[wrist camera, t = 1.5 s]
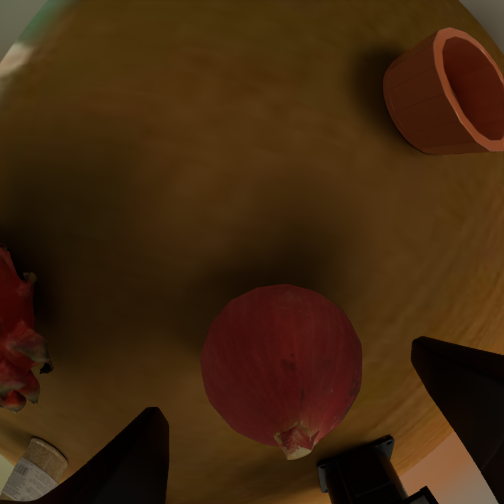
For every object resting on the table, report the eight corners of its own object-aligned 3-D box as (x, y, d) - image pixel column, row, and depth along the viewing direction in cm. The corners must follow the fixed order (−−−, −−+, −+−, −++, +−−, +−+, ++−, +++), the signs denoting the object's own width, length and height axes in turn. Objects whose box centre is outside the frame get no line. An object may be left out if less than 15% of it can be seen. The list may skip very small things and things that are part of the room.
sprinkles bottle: (43, 457, 16) (5, 539, 3) (25, 430, 15) (-26, 517, 2) (76, 470, 16) (42, 563, 3) (57, 444, 15) (10, 546, 2)
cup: (468, 152, 12) (523, 149, 7) (399, 160, 12) (460, 154, 7) (442, 62, 10) (489, 41, 6) (367, 54, 10) (412, 16, 6)
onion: (345, 280, 13) (448, 376, 5) (302, 375, 14) (345, 496, 6) (227, 246, 12) (218, 345, 4) (197, 352, 13) (174, 488, 6)
